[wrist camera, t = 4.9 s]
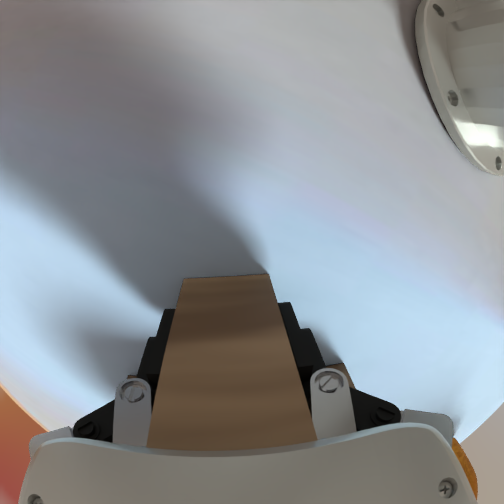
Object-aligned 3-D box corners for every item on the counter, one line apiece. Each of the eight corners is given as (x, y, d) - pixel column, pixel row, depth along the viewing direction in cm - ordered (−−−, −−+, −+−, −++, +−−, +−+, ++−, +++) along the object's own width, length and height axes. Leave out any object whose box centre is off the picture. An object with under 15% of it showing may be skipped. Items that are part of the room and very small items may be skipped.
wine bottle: (405, 465, 32) (445, 571, 5) (445, 435, 29) (496, 545, 2) (425, 460, 35) (463, 552, 7) (460, 433, 32) (506, 527, 4)
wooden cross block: (92, 281, 12) (3, 420, 4) (364, 266, 13) (474, 396, 5) (137, 393, 16) (114, 507, 7) (338, 381, 17) (381, 491, 8)
